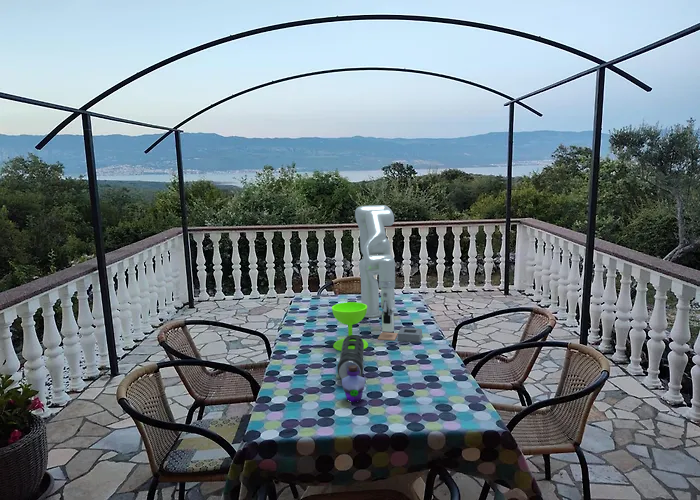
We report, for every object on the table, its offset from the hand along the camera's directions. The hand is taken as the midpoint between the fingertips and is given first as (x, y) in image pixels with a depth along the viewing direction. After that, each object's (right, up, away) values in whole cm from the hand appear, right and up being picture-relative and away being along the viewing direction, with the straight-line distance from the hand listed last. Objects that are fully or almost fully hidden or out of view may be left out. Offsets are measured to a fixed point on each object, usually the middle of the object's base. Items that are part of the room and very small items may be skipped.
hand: (387, 321), depth 223 cm
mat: (0, -7, +1) cm, 8 cm away
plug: (0, -4, +1) cm, 4 cm away
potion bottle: (-16, -18, -60) cm, 64 cm away
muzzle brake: (-17, -14, -36) cm, 42 cm away
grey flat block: (+10, -8, -2) cm, 13 cm away
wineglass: (-17, -10, -8) cm, 22 cm away
